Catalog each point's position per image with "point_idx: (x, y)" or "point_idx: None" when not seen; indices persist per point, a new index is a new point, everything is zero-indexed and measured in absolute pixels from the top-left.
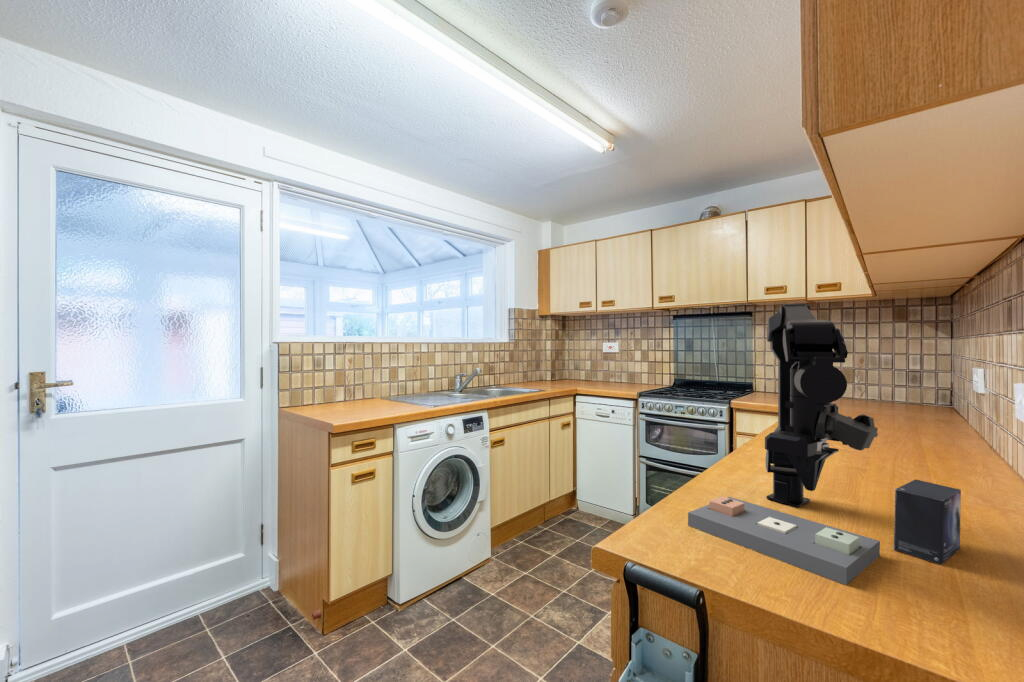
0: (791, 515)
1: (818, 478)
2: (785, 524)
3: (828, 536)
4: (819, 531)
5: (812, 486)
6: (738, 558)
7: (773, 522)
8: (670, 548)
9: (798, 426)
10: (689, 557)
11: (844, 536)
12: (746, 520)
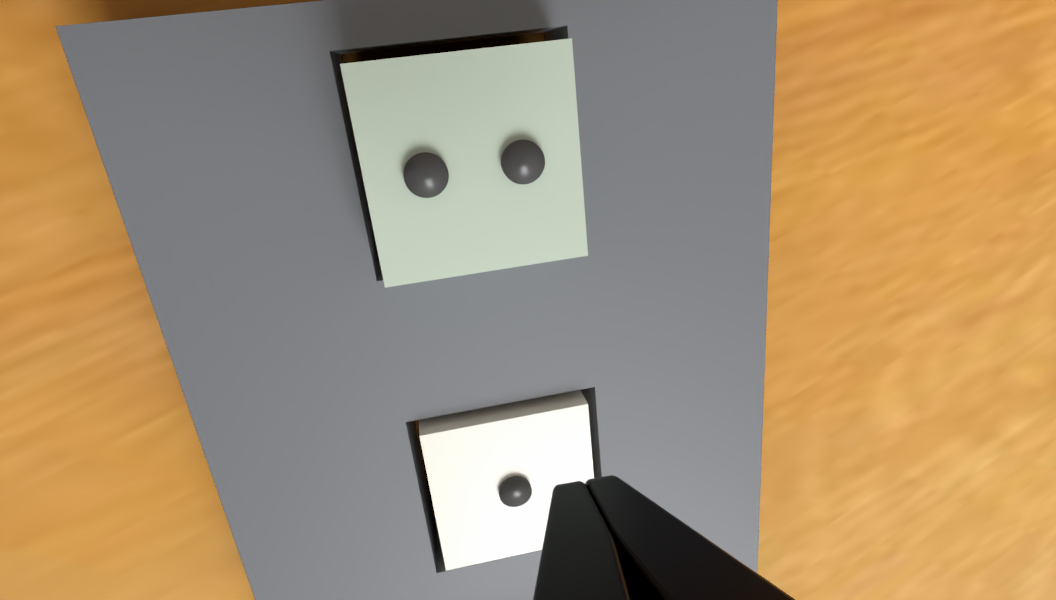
0: (250, 552)
1: (555, 583)
2: (475, 466)
3: (551, 189)
4: (517, 265)
5: (648, 507)
6: (851, 379)
7: (510, 509)
8: (969, 534)
9: None
10: (988, 458)
11: (443, 129)
12: None
